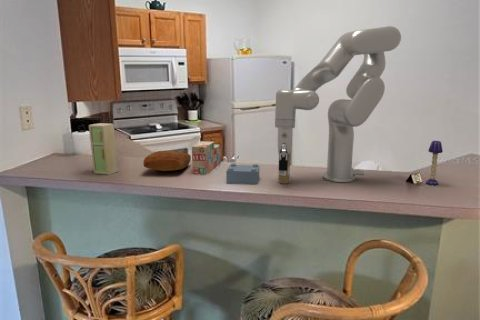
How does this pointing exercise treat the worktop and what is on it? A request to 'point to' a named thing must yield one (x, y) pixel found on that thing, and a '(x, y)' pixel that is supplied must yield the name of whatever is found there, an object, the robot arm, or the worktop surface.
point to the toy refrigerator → (103, 148)
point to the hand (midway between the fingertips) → (283, 167)
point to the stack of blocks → (205, 157)
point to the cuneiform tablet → (167, 161)
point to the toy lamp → (434, 161)
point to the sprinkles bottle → (284, 172)
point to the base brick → (242, 174)
